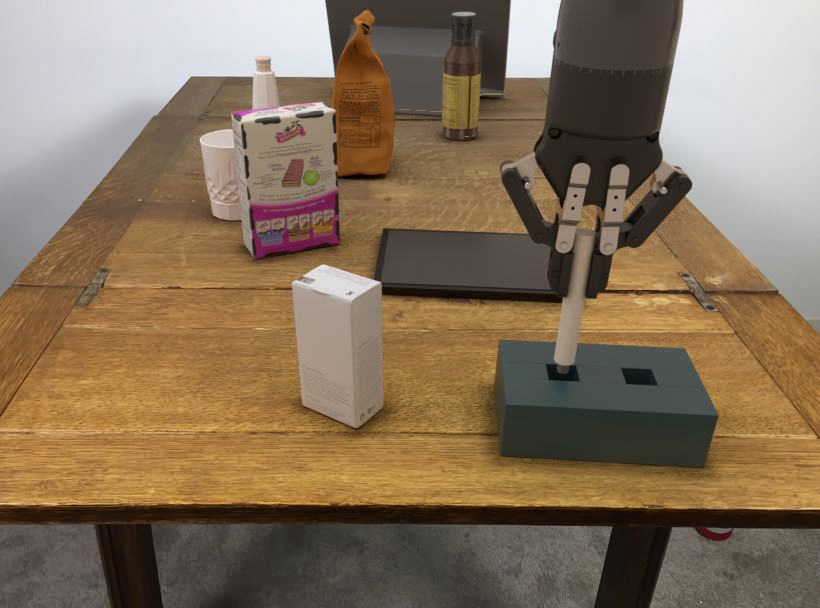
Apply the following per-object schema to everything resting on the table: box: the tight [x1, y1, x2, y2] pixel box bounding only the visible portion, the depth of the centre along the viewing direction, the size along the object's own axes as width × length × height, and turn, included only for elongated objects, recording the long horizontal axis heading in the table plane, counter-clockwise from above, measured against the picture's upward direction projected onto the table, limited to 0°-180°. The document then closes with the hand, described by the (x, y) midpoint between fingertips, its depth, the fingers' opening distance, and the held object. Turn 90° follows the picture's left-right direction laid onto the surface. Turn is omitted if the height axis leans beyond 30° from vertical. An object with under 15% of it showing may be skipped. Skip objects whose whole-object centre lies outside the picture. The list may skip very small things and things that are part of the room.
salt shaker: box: [251, 55, 281, 110], centre depth 141 cm, size 5×5×11 cm
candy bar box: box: [230, 101, 341, 260], centre depth 92 cm, size 11×5×16 cm, turn 114°
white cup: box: [199, 128, 242, 221], centre depth 103 cm, size 8×8×10 cm
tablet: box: [373, 227, 563, 303], centre depth 91 cm, size 16×22×1 cm
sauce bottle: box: [441, 12, 481, 142], centre depth 130 cm, size 6×6×20 cm
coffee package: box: [330, 10, 396, 178], centre depth 116 cm, size 10×12×22 cm
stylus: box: [554, 227, 596, 374], centre depth 60 cm, size 2×2×12 cm
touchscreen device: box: [324, 0, 512, 117], centre depth 148 cm, size 35×20×30 cm, turn 77°
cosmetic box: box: [291, 263, 385, 429], centre depth 64 cm, size 6×4×12 cm
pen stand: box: [493, 338, 720, 468], centre depth 64 cm, size 10×16×5 cm, turn 85°
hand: (575, 292), depth 59 cm, fingers closed on stylus, 1 cm apart
